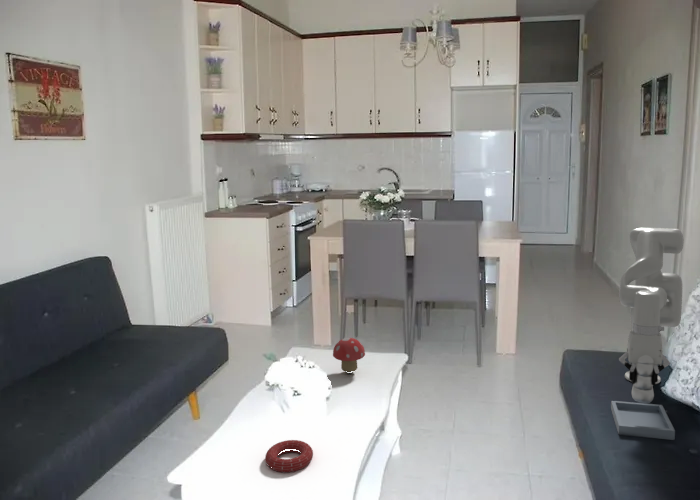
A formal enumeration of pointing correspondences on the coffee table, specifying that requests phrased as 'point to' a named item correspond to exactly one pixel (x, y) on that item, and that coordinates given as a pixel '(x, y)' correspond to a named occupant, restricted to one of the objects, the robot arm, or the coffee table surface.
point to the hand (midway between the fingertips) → (643, 382)
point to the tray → (642, 420)
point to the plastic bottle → (643, 380)
